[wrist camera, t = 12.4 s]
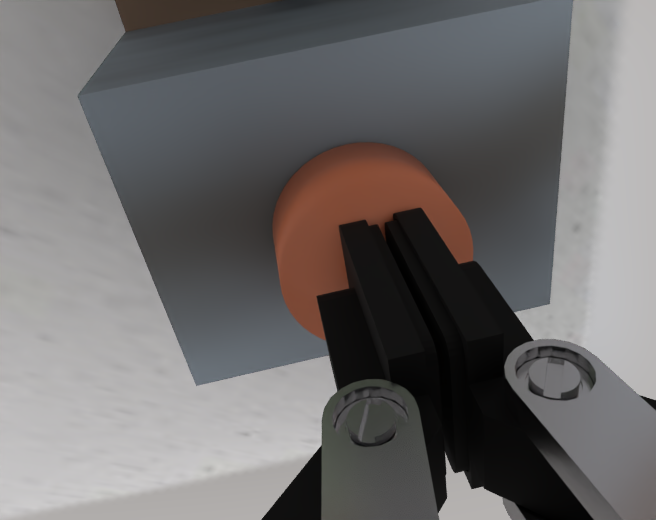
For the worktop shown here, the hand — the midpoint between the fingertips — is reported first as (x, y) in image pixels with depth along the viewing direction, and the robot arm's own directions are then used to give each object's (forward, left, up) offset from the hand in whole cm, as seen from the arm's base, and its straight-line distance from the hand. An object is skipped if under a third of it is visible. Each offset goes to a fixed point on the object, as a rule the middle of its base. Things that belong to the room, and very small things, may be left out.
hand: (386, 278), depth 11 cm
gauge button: (0, 0, -2) cm, 2 cm away
